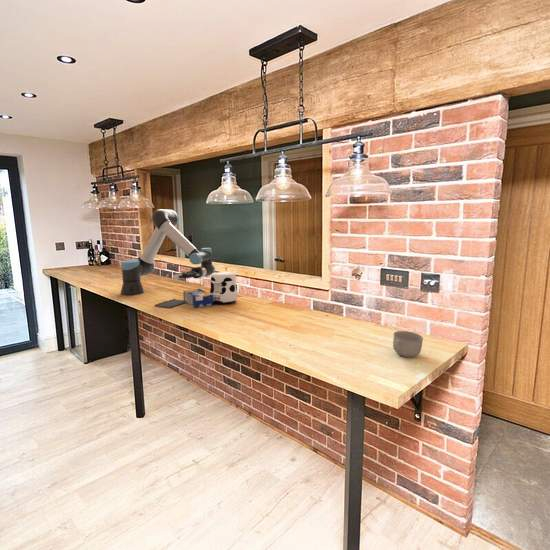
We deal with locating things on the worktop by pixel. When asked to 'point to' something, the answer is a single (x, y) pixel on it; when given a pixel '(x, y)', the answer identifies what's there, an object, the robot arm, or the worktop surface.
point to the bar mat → (171, 303)
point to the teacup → (407, 343)
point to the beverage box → (198, 298)
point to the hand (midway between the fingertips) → (174, 277)
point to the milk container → (223, 287)
